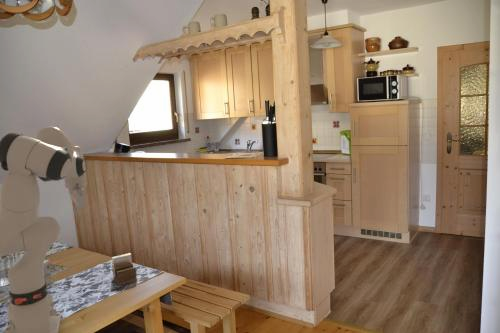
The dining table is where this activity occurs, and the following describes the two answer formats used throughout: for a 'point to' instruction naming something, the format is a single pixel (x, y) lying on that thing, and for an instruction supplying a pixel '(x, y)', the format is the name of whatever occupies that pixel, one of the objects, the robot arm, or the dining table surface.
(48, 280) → the light bulb box
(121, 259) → the aluminium panel
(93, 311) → the dining table surface
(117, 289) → the dining table surface
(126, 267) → the walnut rack
